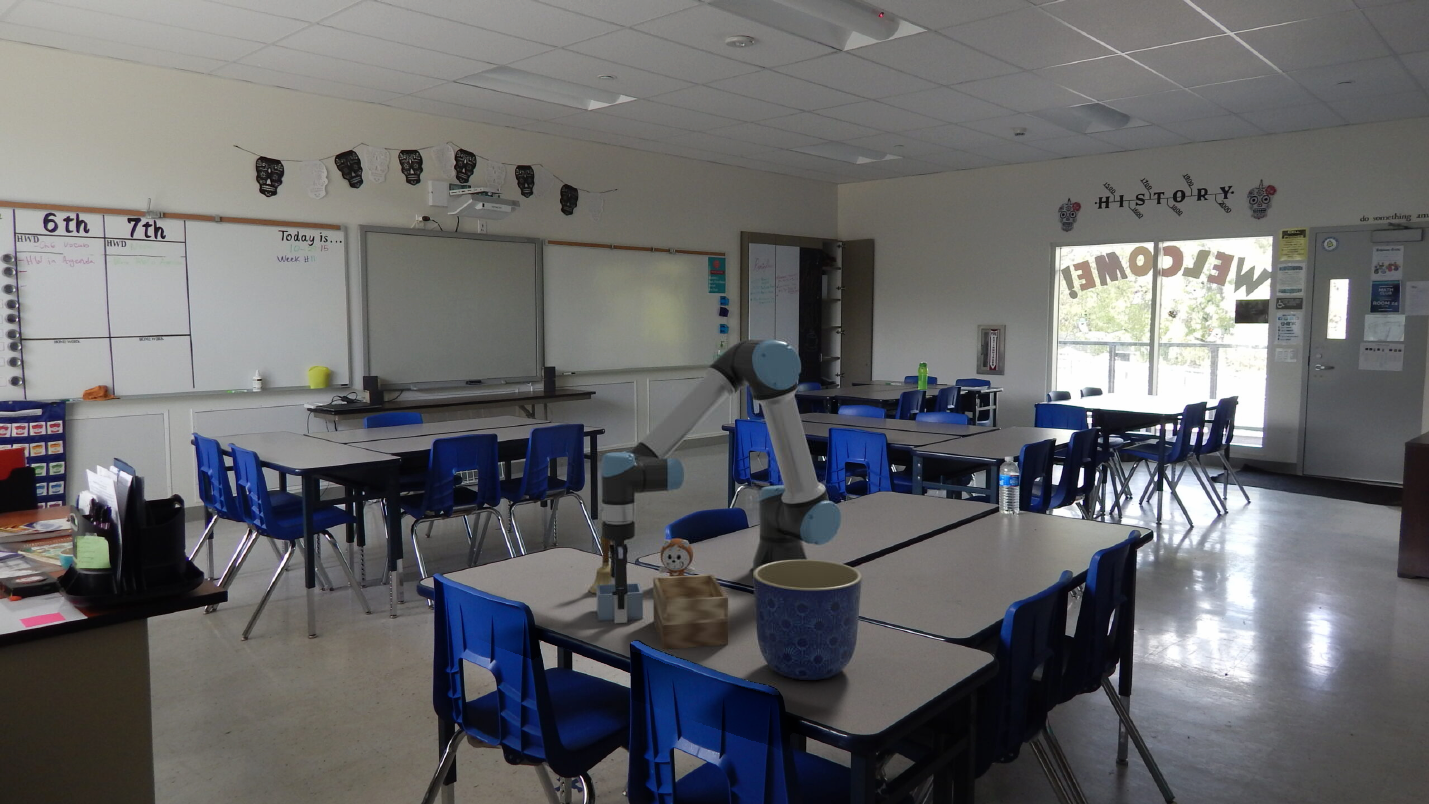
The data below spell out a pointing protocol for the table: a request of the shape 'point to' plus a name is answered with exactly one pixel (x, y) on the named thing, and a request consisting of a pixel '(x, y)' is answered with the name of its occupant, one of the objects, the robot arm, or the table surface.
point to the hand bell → (603, 568)
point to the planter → (807, 616)
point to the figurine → (676, 557)
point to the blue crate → (608, 607)
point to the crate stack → (690, 611)
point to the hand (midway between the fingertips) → (618, 613)
